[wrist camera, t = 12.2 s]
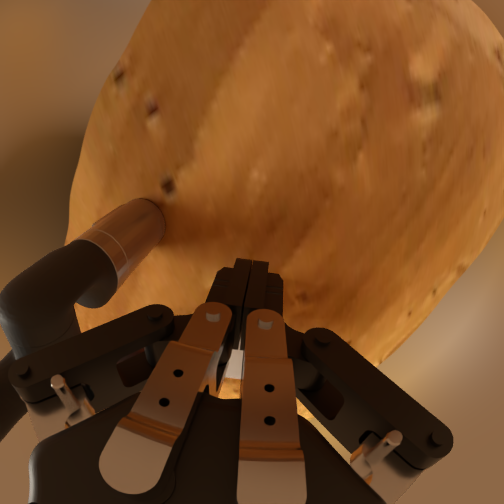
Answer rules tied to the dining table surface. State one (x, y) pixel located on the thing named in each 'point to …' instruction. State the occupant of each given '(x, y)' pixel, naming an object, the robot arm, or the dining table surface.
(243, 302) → the robot arm
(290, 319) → the dining table surface
